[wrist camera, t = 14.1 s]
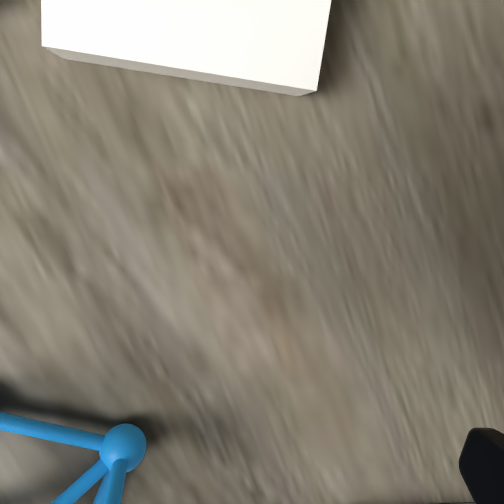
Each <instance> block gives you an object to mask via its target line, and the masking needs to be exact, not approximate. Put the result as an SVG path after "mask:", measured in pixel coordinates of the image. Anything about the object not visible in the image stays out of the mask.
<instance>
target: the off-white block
mask: <svg viewBox="0 0 504 504" xmlns="http://www.w3.org/2000/svg"><path fill="white" fill-rule="evenodd" d="M330 5H331V0H41V11H42V46H43V47H45V48H46V49H48V50H50V51H51V52H53V53H55V54H56V55H58V56H60V57H61V58H63V59H68V60H74V61H81V62H87V63H93V64H100V65H106V66H112V67H118V68H125V69H131V70H137V71H143V72H150V73H156V74H162V75H169V76H175V77H181V78H187V79H194V80H200V81H206V82H213V83H219V84H225V85H231V86H238V87H244V88H250V89H256V90H263V91H269V92H275V93H282V94H288V95H294V96H301V95H305V94H308V93H311V92H314V91H317V85H318V79H319V73H320V67H321V61H322V54H323V48H324V42H325V36H326V30H327V24H328V17H329V11H330Z"/></svg>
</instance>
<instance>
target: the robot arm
mask: <svg viewBox="0 0 504 504" xmlns="http://www.w3.org/2000/svg"><path fill="white" fill-rule="evenodd" d="M459 469H460V473H461V475H462V477H463V479H464V481H465V483H466V485H467V487H468V489H469V491H470V493H471V496H472V498H473V500H474V502H475V504H504V434H503V433H501V432H499V431H497V430H495V429H492V428H473V429H471V430H470V431H469V433H468V435H467V438H466V441H465V444H464V447H463V449H462V452H461V455H460V458H459Z"/></svg>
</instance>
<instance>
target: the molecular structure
mask: <svg viewBox="0 0 504 504" xmlns="http://www.w3.org/2000/svg"><path fill="white" fill-rule="evenodd" d="M0 430H3V431H8V432H13V433H17V434H22V435H27V436H31V437H36V438H41V439H45V440H50V441H55V442H59V443H64V444H69V445H73V446H78V447H83V448H87V449H92V450H97V451H99V455H100V460H99V461H98V462H96V463H95V464H94V465H93V466H92V467H91V468H90V469H89V470H87V471H86V472H85V473H84V474H83V475H82V476H81V477H80V478H78V479H77V480H76V481H75V482H74V483H73V484H72V485H71V486H70V487H68V488H67V489H66V490H65V491H64V492H63V493H62V494H61V495H59V496H58V497H57V498H56V499H55V500H54V501H53V502H52V503H50V504H74V503H75V502H76V501H77V500H78V499H79V498H80V497H81V496H82V495H83V494H85V493H86V492H87V491H88V490H89V489H90V488H91V487H92V486H93V485H94V484H95V483H96V482H98V481H99V480H100V479H101V478H102V477H103V476H104V478H103V480H102V482H101V485H100V487H99V490H98V492H97V494H96V497H95V499H94V502H93V504H121V501H122V495H123V489H124V484H125V478H126V472H129V471H131V470H133V469H135V468H136V467H137V466H138V465H139V464H140V463H141V461H142V459H143V458H144V456H145V452H146V448H147V445H146V438H145V435H144V434H143V432H142V430H141V429H139V428H138V427H137V426H135V425H132V424H126V423H125V424H120V425H117V426H115V427H113V428H112V429H110V430H109V431H108V432H107V433H106V435H105V436H104V435H100V434H95V433H91V432H87V431H82V430H78V429H73V428H69V427H64V426H60V425H55V424H51V423H46V422H42V421H38V420H33V419H29V418H24V417H20V416H15V415H11V414H6V413H2V412H0Z"/></svg>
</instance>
